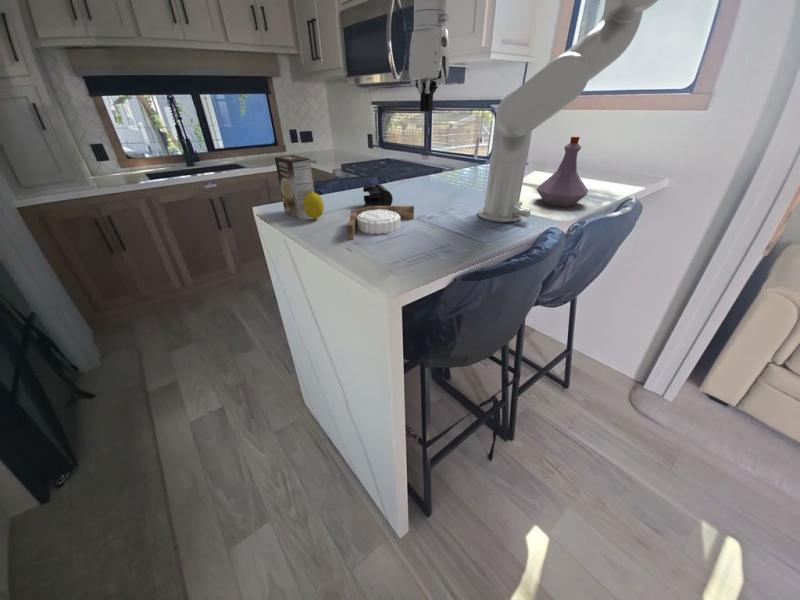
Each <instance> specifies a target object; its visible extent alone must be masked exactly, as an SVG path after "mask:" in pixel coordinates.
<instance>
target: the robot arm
mask: <svg viewBox="0 0 800 600" xmlns="http://www.w3.org/2000/svg"><path fill="white" fill-rule="evenodd" d="M413 1H414V2H413V31H412V33H411V38H410V45H409V56H408V75H409V79H410V86H413V87H415V88H416V89H417V90H418V94H419V95H420V101H419V102H420V104H419V105H420V106H419V108H420V109H419V111H420V112H423V113H426V112H433V103H434V95H435V93H436V92H437V91H436V90H437V89H438V87H441V86H444V85H445V84H446V79H447V78H448V77H449V73H450V41H449V31H448V29H447V28H446V22H448V21H449V15H448V13H446V11H447V0H413ZM658 1H659V0H605V1H604V6H603V7H604V8H603V11H602V12H603V14H602V16H601V19H600V20H599V22H598V23H597V25H595V27H593V29H591V30H590V31H589V32H588V33H586V34H585V35H584V36H582V38H581V39H579V41H577V42H576V43H575V44H573V45H572V46H571V47H569V49H567V50H565V51H564V52H563V53H562V54H560V55H558V56H556V57H555V58H553V59H552V60H550V61H549V62H548V63H547V64H546V65H545V66H544V67H543V68H542V69H540V70H539V71H538V72H537V73H535V74H534V75H532V77H530V78H529V79H528V80H527V81H525V82H524V83H523V84H521V86H519V87H518V88H516V89H515V90H514V91H512V92H510V93H508V94H507V95H505V96H504V98H503V99H501V102H500V103H499V105H498V107H497V111H496V116H495V123H494V133H493V141H492V146H491V147H492V148H491V157H490V162H489V163H490V164H489V170H488V177H487V185H486V192H485V193H486V194H485V200H484V206H483V207H481V208H480V209H479V210H478V212H477V213H478V214H477V215H478V216H479V218H480V219H483V220H486V221H489V222H490V221H491V222H495V223H515V222H517V221H520V220H521V219H522V217H524V218H529V217H531V209H530V208H527V207H524V206H522V205H523V202H522V201H520V198H521V195H522V194H521V193H522V188H523V183H524V176H525V173H526V166H527V163H528V162H527V161H528V156H529V151H530V146H531V139H532V134H533V133H532V131H533V130H535V129H537V128H538V127H539V126H541V125H542V124H543V123H545V122H546V121H549V119H550V118H552V117H553V116H555V115H556V114H557V113H559V112H560V111H562V110H563V109H565V108H566V107H567V106H569V105H570V104H571V103H572V102H574V101H575V100H576V99H577V98H578V97H579V96H580V95H581V94H582V93H583V92H584V90H585V89H586V86H587V84H588V83H589V81H591V80H592V79H593V78H595V77H596V76H597V75H598V74H600V73H601V72H602V71H603V70H605V69H607V68H608V67H609V66H610V65H612V64H613V63H614V62H616V60H617V59H618V58H619V57H621V56H622V55H623V54H624V52H626V50H627V49H628V48H629V46H630V44H632V41H633V40H634V38H635V36H636V34H637V32H638V29H639V26H640V24H641V21H642V18H643V14H644V11H646V10H647V9H649V8H651V7H653V5H655V4H656V3H657V2H658Z"/></svg>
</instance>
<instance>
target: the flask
mask: <svg viewBox="0 0 800 600" xmlns="http://www.w3.org/2000/svg"><path fill="white" fill-rule="evenodd" d="M580 138H581V137H580V136H570V142H569V143H568V144H566V145H565V146H564V152H565V153H564V155H563V159H562V160H561V162H560V164H559V165H558V169H557V170H556V171H555V172H554V173H553V174H552V175H551V176H549V177H548V178H547V179H546V180H545V181H543V182H542V183H541V184H539V186H538V187H536V192H537V193H538V194H539V196H540V198H541V199H542V201H543V202H544V203H545V204H547V205H549V206H551V207H552V206H553V207H554V206H555V207H561V208H563V207H564V208H566V207H567V208H568V207H573V206H574V205H576V204H577V203H578V202H580V201H581V200H582V199H584V198H586V196H587V195H588V192H589V189H588V188H587V187H586V185H585V184H584V182H583V180H582V178H581V176H580V175H579V173H578V171H577V168H578V167H577V158H578V155H579V154H578V153H579V152H580V150H581V149H582V146H581V145H580V144H579V141H580Z"/></svg>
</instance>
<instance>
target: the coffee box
mask: <svg viewBox="0 0 800 600" xmlns="http://www.w3.org/2000/svg"><path fill="white" fill-rule="evenodd" d="M274 162H275V166H276V172H277V179H278V183H279V188H280V194H281V198H282V203H283V204H282V205H283V210H284V213H285V214H287V215H290V216H292V217H294V218H297V219H299V220H301V219H305V218H309V217H310V216H308V215H307V214H306V212H305V209H304V198H305V196H306V195H307V194H309V193H310V192H314V193H315V187H314V180H313V179H314V178H313V172H312V166H311V159H310V157H309V158H308V157H306V156H300V155H296V154H289V155H282V156H281V155H280V156H276V157H274ZM310 218H311V217H310Z"/></svg>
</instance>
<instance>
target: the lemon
mask: <svg viewBox="0 0 800 600" xmlns="http://www.w3.org/2000/svg"><path fill="white" fill-rule="evenodd" d="M304 209H305V212H306V214H307V215H308V216H310V218H312V219H314V220H318V219H319V218H320V217H321V216H322V215H323V213H324V212H325V205H324V200H323V199H322V197H321V196H320V195H319V194H318V193H316V192H315V191H314V192H310V193H309V194H307V195H306V196H305V198H304Z"/></svg>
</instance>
